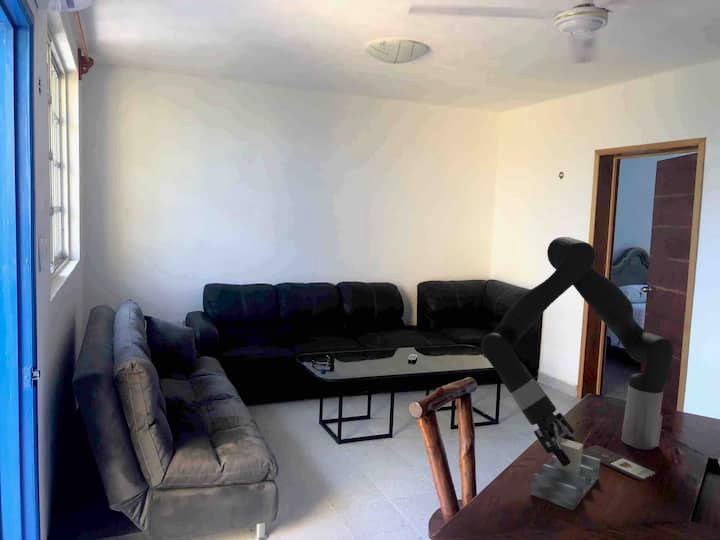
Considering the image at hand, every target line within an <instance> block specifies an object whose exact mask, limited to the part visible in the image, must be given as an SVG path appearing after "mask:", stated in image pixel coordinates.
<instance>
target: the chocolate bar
mask: <svg viewBox="0 0 720 540" xmlns="http://www.w3.org/2000/svg"><path fill="white" fill-rule="evenodd" d="M582 454H584V455H588V456H591V457H594V458H597V459H600V460H601V461H600V463H601V464H600V465H602V464H603V466H605V465H606V466H605V467H607V466H608V467H607V468H609V467H610V468H609V469H611V468H612V469H611V470H613V469H614V471H616V472H618V471H619V472H618V473H620V472H621V473H620V474H622V475H625V476H626V475H627V477H629V478H632V479H633V480H635V479H636V481H637V480H638V482H642V481H644V480H646V479H648V478H650V477H652V476H654V475H657V474H658V470H656V469H653V468H651V467H649V466H646V465H644V464H642V463H639V462H637V461H635V460H634V459H633V460H632V459H630V458H628V457H626V456H623V455H621V454H619V453H616V452H614V451H612V450H609V449H607V448H605V447H603V446H600V445H598V444H595V445H592V446H589V447H587V448H586V447H585V448H583V452H582ZM653 474H654V475H653ZM649 476H650V477H649ZM647 477H648V478H647ZM645 478H646V479H645ZM643 479H644V480H643ZM641 480H642V481H641Z"/></svg>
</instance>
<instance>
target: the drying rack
mask: <svg viewBox="0 0 720 540" xmlns="http://www.w3.org/2000/svg"><path fill="white" fill-rule="evenodd" d="M550 461H551V463H550V464H547V463H544V464H543V465H542V468H541V469H542V471H541V474H539V473H537V472H534V473H533V474H532V484H531V490H530V492H531V493H530V495H532V496H534V497H537V498H539V499H542V500H545V501H547V502H550V503H553V504H554V505H557V506H560V507H563V508H565V509H568V510H570V511H574V510H575V508H577V506H578V504H579V503H580V502H581V501H582V500H581V499H583V498H584V497H585V496H586V495H587V494H588V493H589V491H590V490H591V488H592V487H593V486H594V485H595V483H596V482H597V481H598V480H599V473H600V468H601V464H600V461H601V460H600V459H597V458H594V457H591V456H588V455H584V454H582V460H581V468H580V476H579V475H576V474H573V473H570V472H567V471H564V470H561V469H559V468H556V467H555V465H556V456H555V454H554V455H552V456H551V460H550ZM596 480H597V481H596Z"/></svg>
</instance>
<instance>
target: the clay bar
mask: <svg viewBox="0 0 720 540" xmlns="http://www.w3.org/2000/svg"><path fill="white" fill-rule="evenodd" d="M559 443H560V446H561V449H563V451H564V452H565V454H566V455H567V456H568V458H569V459H570V461H571V463H570V464H568V465H567V466H562V464H561V463H560V461H559V460H558V459H557V457H556V465H555V467H556V468H559V469H561V470H564V471H567V472H570V473H573V474H576V475H579V476H580V468H581V460H582V452H583V449H584V444H583V443H580V442H577V441H576V442H574V441H571V440H567V439H564V438H563V439H562V438H561V439H560V441H559Z"/></svg>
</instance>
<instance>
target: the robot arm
mask: <svg viewBox="0 0 720 540" xmlns="http://www.w3.org/2000/svg"><path fill="white" fill-rule="evenodd" d="M546 253H547V256H546V257H547V259H548V262H549V264H550V265H551V267H553V268H554V270H555V271H554V272H553V273H551V275H549V276H548V278H547V279H545V280H544V281H543V282H541V283H540V284H538V285H536V286H535V287H533V288H532V289H530V290H528V291H526V292H525V293H524V294H522V295H521V296H520V297H519V298H518V299H517V300H516V301H515V302H514V303H513V304H512V305H511V306H510V308H509V310H507V312H506V313H505V314H504V316H503V317H502V318H501V320H500V323H499V324H497V326H496V327H495V328H494V330H493V331H492V332H490V333H488V334H486V335H485V336H484V337H483V338H482V340H481V343H480V344H481V345H480V351H481V352H482V354H483V357H485V358H486V359H487V360H488V362H489V364H491V366H492V367H493V369H494V370H495V371H496V373H497V374H498V375H499V378H500V379H501V382H502V384H504V386H505V388H506V389H507V391H508V392H509V393H510V395H511V397H512V398H513V401H514V402H515V403H516V405H517V406H518V408H519V409H520V411H521V412H522V414H523V415H524V417H525V418H526V420H527V421H528V423H529V424H530V425H531V426H534V425H537V427H538V428H537V429H536V430H534V431H533V433H534V435H535V436H536V438H537V439H538V442H539V443H540V444H541V446H542V447H543V449H544V450H545V452H546V453H547V454H550V453H551V454H554V456H556V457H557V459H558V460H559V461H560V463H561V464H562V466H567V465H568V464H570V463H571V461H570V459H569V458H568V456H567V455H566V454H565V452H564V451H563V449H561V446H560V443H559V442H560V441H561V440H562V439H563V438H564V439H567V440H571V441H574V442H577V440H576V439H575V438H574V433H575V430H574V428H573V427H572V426H571V424H570V423H569V421H568V420H567V419H566V418H565V417H564V415H563V414H562V413H561V412H558V413H556V414H554V413H555V412H556V411H557V408H556V406H555V405H554V402H553V401H552V400H551V399H550V397H549V396H548V395H547V393H546V392H545V391H544V389H543V387H541V385H540V384H539V383H538V382H537V381H536V380H535V378H534V377H533V375H532V374H531V373H530V372H529V371H530V370H528V368H527V367H526V365H524V364H523V363H522V361H521V360H520V359H519V357H518V355H517V354H516V352H515V350H514V347H515V346H516V344H517V343H518V342H519V340H520V339H521V338H522V336H524V335H525V334H526V333H527V332H528V331H529V329H530V328H531V327H532V326H533V325H534V324H535V322H536V321H537V320H538V319H539V317H540V316H541V315H542V314H544V312H545V311H546V310H547V309H548V307H550V305H552V304H553V303H554V302H555V301H557V299H558V298H559V297H560V296H562V295H563V294H565V293H566V291H568V290H569V289H570V288H571V287H572V286H573V287H574V288H575V290H576V291H577V293H579V295H580V296H581V297H582V298H583V300H584V301H585V302H586V303H587V305H588V306H589V307H590V308H591V309H592V311H593V312H594V313H595V314H596V316H598V318H599V319H600V320H601V321H602V323H604V324H605V326H607V328H608V329H609V330H610V331H611V332H612V333H613V334H614V335H615V336H616V338H617V339H618V340H619V342H620V343H621V345H622V346H623V348H624V349H625V351H626V353H627V354H628V355H629V357H630V358H631V359H632V360H634V361H635V362H638V363H639V364H642V365H644V369H643V372H642V373H633V374H631V375H630V376H629V381H628V388H627V393H626V395H627V396H626V403H625V409H624V417H623V422H622V423H623V425H622V431H621V439H620V440H621V442H623V443H624V444H626V445H627V446H630V447H632V448H636V449H639V450H648V451H649V450H653V449H655V448H657V447H659V445H660V437H661V432H662V431H661V430H662V425H663V423H662V422H663V415H662V414H661V411H662V409H661V408H662V405H663V404H662V402H663V396H664V390H665V389H664V388H665V386H666V384H667V382H668V380H669V377H670V371H671V366H672V361H673V357H674V346H673V343H672V341H671V340H670V339H668V338H666V337H663V336H660V335H658V334H655V333H652V332H649V331H647V330H645V329H644V328H643V327H641V325H640V324H639V323H638V322H637V321H636V320H635V319H634V306H633V304H632V302H631V301H630V299H629V297H628V296H627V295H626V294H625V293H624V291H622V290H621V288H620V287H619V286H618V285H617V284H615V283H614V282H613V281H612V280H610V279H609V278H608V277H606V276H605V275H603V274H602V273H601V272H600V271H598V270H597V269H596V268H594V267H593V266H594V264H595V260H596V251H595V249H594V247H593V246H592V245H591V244H590V243H589V242H586V241H583V240H580V239H576V238H573V237H569V236H560V237H556V238H554V239H553V240H552V241H550V243H549V244H548V246H547V252H546Z"/></svg>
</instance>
